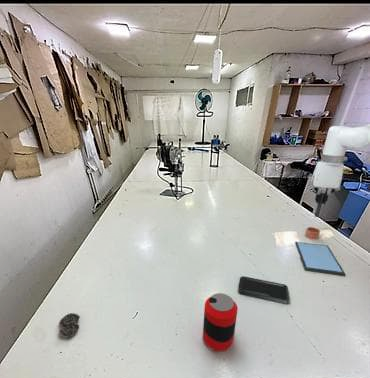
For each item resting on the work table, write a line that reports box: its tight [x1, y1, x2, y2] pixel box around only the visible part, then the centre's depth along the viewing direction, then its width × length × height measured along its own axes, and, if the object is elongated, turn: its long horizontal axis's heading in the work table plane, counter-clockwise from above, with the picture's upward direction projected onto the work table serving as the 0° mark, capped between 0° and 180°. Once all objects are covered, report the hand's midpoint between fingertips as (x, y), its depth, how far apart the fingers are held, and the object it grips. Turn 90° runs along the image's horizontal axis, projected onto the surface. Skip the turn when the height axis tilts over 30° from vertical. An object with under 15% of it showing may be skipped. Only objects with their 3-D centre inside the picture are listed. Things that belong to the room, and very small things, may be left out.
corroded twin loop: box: [58, 312, 81, 339], centre depth 61 cm, size 5×8×1 cm, turn 23°
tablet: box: [294, 241, 346, 277], centre depth 93 cm, size 13×20×1 cm, turn 166°
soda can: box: [202, 292, 239, 352], centre depth 57 cm, size 8×8×12 cm
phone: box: [237, 275, 290, 304], centre depth 75 cm, size 8×1×15 cm
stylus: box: [314, 189, 326, 218], centre depth 102 cm, size 2×2×12 cm
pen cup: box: [304, 226, 321, 241], centre depth 107 cm, size 6×6×4 cm
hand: (320, 202), depth 101 cm, fingers closed on stylus, 1 cm apart
